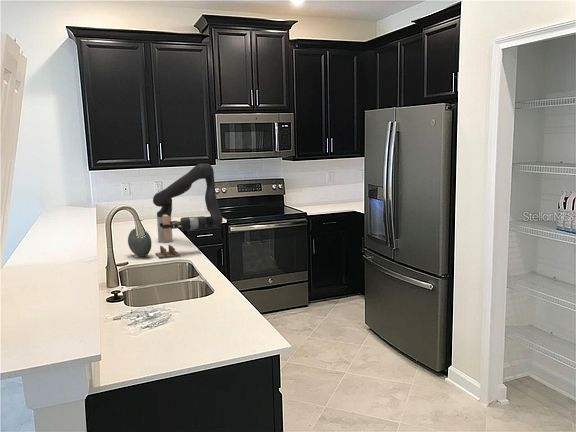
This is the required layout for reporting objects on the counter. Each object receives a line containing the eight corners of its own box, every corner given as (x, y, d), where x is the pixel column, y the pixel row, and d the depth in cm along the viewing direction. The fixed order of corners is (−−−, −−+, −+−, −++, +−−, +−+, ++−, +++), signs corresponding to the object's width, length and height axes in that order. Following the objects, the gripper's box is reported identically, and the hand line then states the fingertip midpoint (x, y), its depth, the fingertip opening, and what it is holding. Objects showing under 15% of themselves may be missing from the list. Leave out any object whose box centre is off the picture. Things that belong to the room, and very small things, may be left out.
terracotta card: (163, 238, 287) (162, 214, 285) (168, 237, 288) (166, 214, 286) (166, 240, 282) (164, 216, 279) (170, 239, 283) (168, 215, 281)
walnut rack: (155, 254, 289) (154, 246, 288) (175, 252, 294) (174, 244, 294) (159, 258, 279) (159, 250, 278) (180, 256, 284) (180, 248, 283)
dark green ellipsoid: (146, 252, 295) (144, 216, 291) (154, 258, 281) (152, 220, 277) (126, 255, 289) (124, 218, 285) (134, 260, 275) (131, 222, 271)
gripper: (185, 215, 295) (158, 218, 288) (192, 218, 283) (163, 221, 275) (186, 227, 297) (158, 230, 289) (193, 231, 284) (164, 234, 276)
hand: (161, 226), depth 282 cm, fingers closed on terracotta card, 6 cm apart
